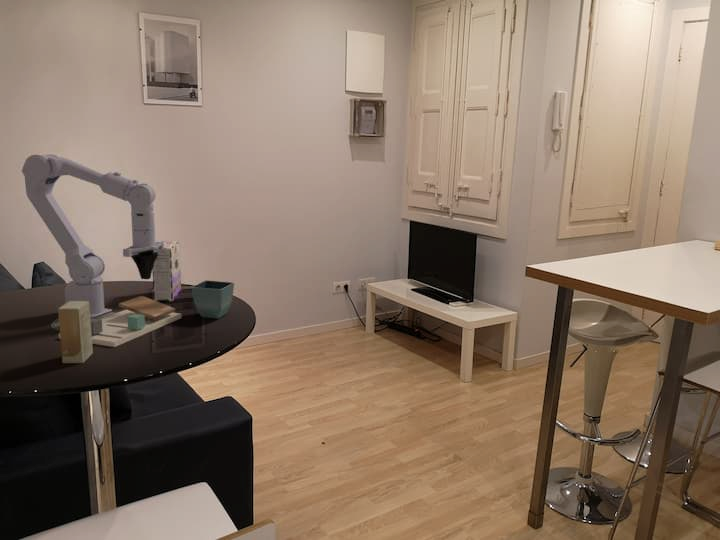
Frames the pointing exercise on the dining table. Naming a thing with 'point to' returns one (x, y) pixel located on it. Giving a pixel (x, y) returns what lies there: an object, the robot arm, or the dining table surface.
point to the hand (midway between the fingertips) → (145, 278)
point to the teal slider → (136, 321)
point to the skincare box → (75, 331)
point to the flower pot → (213, 298)
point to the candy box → (167, 272)
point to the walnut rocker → (147, 307)
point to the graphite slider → (96, 326)
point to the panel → (119, 332)
